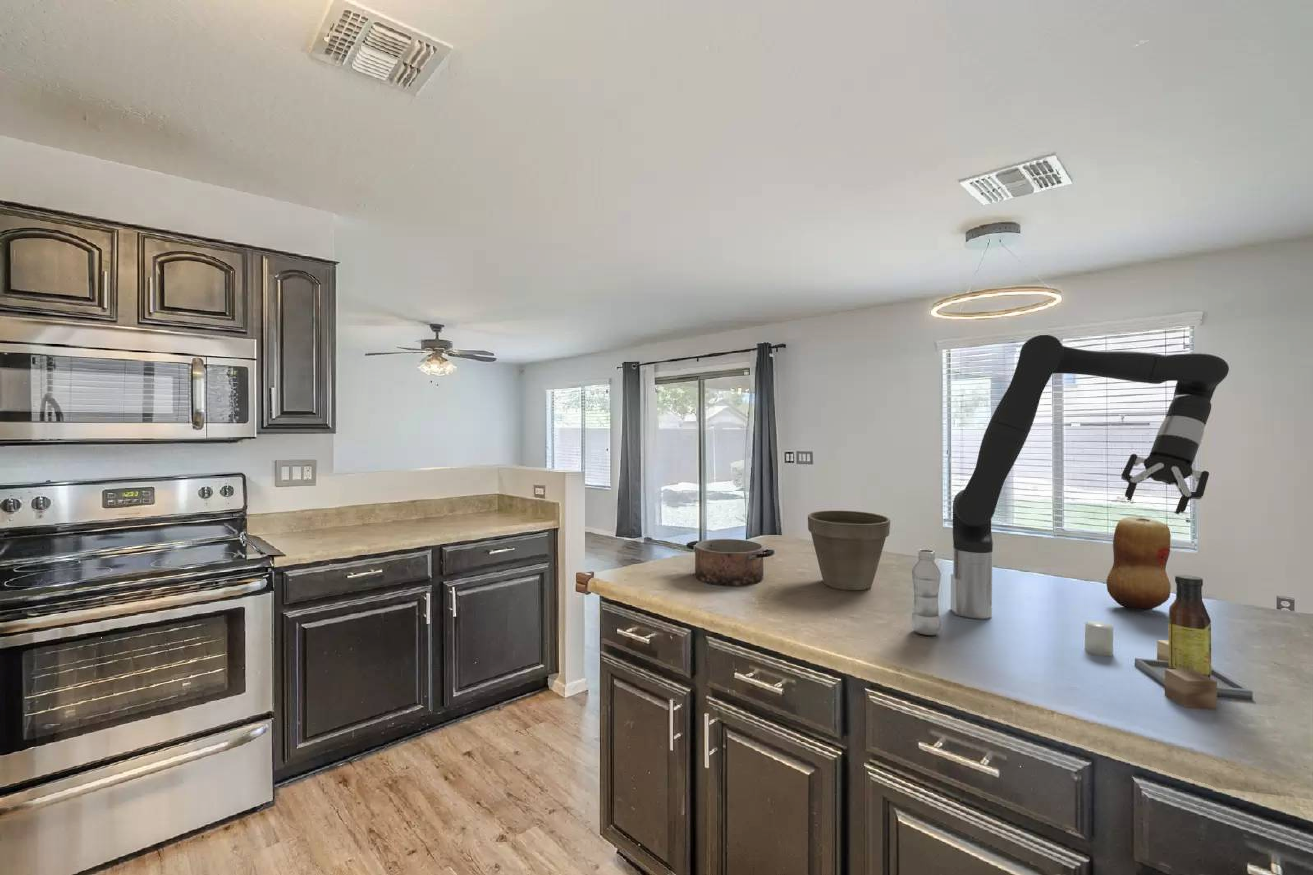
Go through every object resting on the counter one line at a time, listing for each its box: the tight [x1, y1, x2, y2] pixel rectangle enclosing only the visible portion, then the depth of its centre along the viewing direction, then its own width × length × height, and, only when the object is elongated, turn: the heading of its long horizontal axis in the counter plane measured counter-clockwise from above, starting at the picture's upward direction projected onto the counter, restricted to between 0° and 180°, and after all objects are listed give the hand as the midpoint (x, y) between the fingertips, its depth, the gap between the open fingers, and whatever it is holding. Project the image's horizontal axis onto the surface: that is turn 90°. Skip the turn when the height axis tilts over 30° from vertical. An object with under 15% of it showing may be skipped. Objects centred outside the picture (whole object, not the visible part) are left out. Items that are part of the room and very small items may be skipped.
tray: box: [1134, 657, 1254, 700], centre depth 115 cm, size 13×13×2 cm
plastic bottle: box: [910, 549, 942, 636], centre depth 142 cm, size 6×7×20 cm
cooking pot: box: [686, 538, 775, 587], centre depth 194 cm, size 30×22×11 cm
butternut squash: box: [1105, 516, 1172, 612], centre depth 160 cm, size 14×13×25 cm
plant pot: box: [807, 510, 891, 591], centre depth 185 cm, size 25×25×22 cm
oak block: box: [1156, 639, 1169, 661], centre depth 124 cm, size 6×4×4 cm, turn 94°
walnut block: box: [1164, 669, 1218, 710], centre depth 107 cm, size 5×5×5 cm
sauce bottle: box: [1167, 574, 1212, 678], centre depth 116 cm, size 6×6×20 cm
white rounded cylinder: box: [1084, 620, 1114, 657], centre depth 130 cm, size 5×5×6 cm
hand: (1152, 506), depth 131 cm, fingers open, 8 cm apart
